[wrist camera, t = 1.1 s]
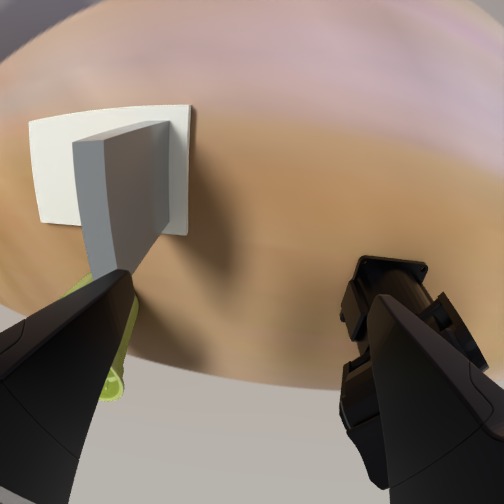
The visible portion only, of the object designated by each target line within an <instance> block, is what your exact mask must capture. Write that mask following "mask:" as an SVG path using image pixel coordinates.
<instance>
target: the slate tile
mask: <svg viewBox="0 0 504 504" xmlns="http://www.w3.org/2000/svg"><path fill="white" fill-rule="evenodd" d="M169 126H170V120H160V121H144V122H139V123H135V124H131V125H127V126H124V127H120V128H116V129H113V130H109V131H106V132H102V133H99V134H96V135H92V136H89V137H86V138H83V139H80V140H77V141H74V142H72V150H73V164H74V175H75V185H76V193H77V201H78V208H79V214H80V220H81V226H82V232H83V237H84V242H85V247H86V252H87V257H88V261H89V265H90V270H91V274H92V278H93V281H94V280H96V279H98V278H100V277H102V276H104V275H106V274H108V273H110V272H112V271H114V270H115V269H124V270H129V271H130V273H131V276H132V275H133V273H134V272H135V270H136V269H137V267H138V266H139V264H140V263H141V261H142V260H143V258H144V257H145V255H146V254H147V253H148V251H149V250H150V248H151V247H152V245H153V244H154V243H155V241H156V240H157V238H158V237H159V235H160V234H161V233H162V231H163V230H164V228H165V227H166V226H167V224H168V223H169V222H170V216H169Z"/></svg>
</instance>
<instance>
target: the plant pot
mask: <svg viewBox="0 0 504 504" xmlns="http://www.w3.org/2000/svg"><path fill="white" fill-rule="evenodd" d="M92 281H93V278H92V274H91V272H90V273H89V274H88V275H86V276H85V277H84V278H83V279H81V280H80V281H79V282H78V283H77V284H76V285H75V286H73V287H72V288H71V289H70V290H69V291H68V292H66V293H65V294H64V295H63V296H62V297H61V298H63V297H64V296H66V295H68V294H70V293H72V292H74V291H76V290H77V289H79V288H81V287H83V286H85V285H87V284H89V283H90V282H92ZM61 298H60V299H61ZM58 300H59V299H58ZM138 309H139V303H138V300H137V297H136V295H135V298H134V302H133V305H132V308H131V312H130V315H129V318H128V321H127V325H126V328H125V331H124V335H123V338H122V341H121V344H120V346H119V349H118V351H117V354H116V356H115V358H114V361H113V363H112V366H111V368H110V371H109V374H108V376H107V379H106V381H105V384H104V387H103V389H102V392H101V395H100V398H99V400H100V401H114V400H117V399H119V398H121V396H122V395H123V392H124V382H123V379H122V377H123V372H124V370H123V369H124V368H123V363H124V359H125V355H126V351H127V348H128V344H129V341H130V337H131V334H132V331H133V327H134V324H135V321H136V318H137V315H138Z"/></svg>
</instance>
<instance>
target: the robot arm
mask: <svg viewBox="0 0 504 504" xmlns="http://www.w3.org/2000/svg"><path fill="white" fill-rule="evenodd" d="M364 261H367V262H366V263H365V264H362V263H363V262H364ZM423 267H424V268H423ZM421 268H423V269H422V270H421ZM427 271H428V266H427V265H426V263H424V262H418V261H410V260H402V259H393V258H385V257H376V256H367V255H364V256H361V257H360V258H359V260H358V263H357V266H356V269H355V272H354V275H353V278H352V279H351V280H350V281H349V283H348V286H347V289H346V292H345V295H344V298H343V300H342V303H341V308H342V310H341V313H340V320H341V321H342V322H346V325H347V329H348V333H349V337H350V339H351V341H353V342H357V346H358V349H359V353H360V357H358V358H356V359H355V360H353V361H352V362H351V361H349V362H348V363H346V364H345V365H344V366H343V377H342V386H341V395H340V403H339V409H340V411H339V415H340V417H341V419H342V422H343V424H344V427H345V429H346V430H347V431H346V433H347V435H348V437H349V438H350V439H351V440H352V442H353V443H354V444H355V445H356V447H357V449H358V451H359V453H360V455H361V457H362V459H363V461H364V464H365V467H366V469H367V473H368V476H369V479H370V480H371V482H373V483H374V484H375V485H376V486H377V487H378V488H380V489H381V490H385V489H388V488H390V489H389V494H390V504H504V390H503V389H502V388H501V387H499V386H498V385H497V384H496V383H495V382H493V381H492V380H491V379H490V378H489V377H487V376H486V375H485V374H484V373H483V372H484V371H486V370H487V369H488V368H489V366H488V364H487V362H486V360H485V359H484V357H483V355H482V353H481V351H480V349H479V347H478V346H477V344H476V342H475V340H474V339H473V337H472V335H471V334H470V332H469V330H468V329H467V327H466V325H465V324H464V322H463V321H462V319H461V317H460V316H459V314H458V313H457V311H456V310H455V308H454V307H453V305H452V304H451V302H450V301H449V299H448V298H447V296H446V295H445V293H444V292H442V293H441V294H440V295H439V296H438V298H437V299H436V300H435V301H433V300H432V298H431V296H430V295H429V293H428V292H427V290H426V289H425V287H424V286H423V284H422V282H423V280H424V278H425V275H426V273H427ZM134 298H135V292H134V286H133V281H132V276H131V273H130V271H129V270H124V269H115V270H114V271H112V272H110V273H108V274H106V275H104V276H102V277H100V278H98V279H96V280H94V281H92V282H90V283H89V284H87V285H85V286H83V287H81V288H79V289H77V290H76V291H74V292H72V293H70V294H68V295H66V296H64V297H63V298H61V299H59V300H57V301H55V302H54V303H52V304H50V305H48V306H46V307H45V308H43V309H41V310H39V311H38V312H36V313H34V314H32V315H31V316H29V317H27V318H26V319H24V320H22V321H20V322H18V323H17V324H15V325H13V326H12V327H10V328H8V329H6V330H5V331H3V332H1V333H0V504H68V502H69V497H70V493H71V489H72V485H73V481H74V477H75V474H76V470H77V466H78V463H79V458H80V455H81V452H82V449H83V445H84V442H85V439H86V436H87V433H88V429H89V426H90V423H91V420H92V417H93V414H94V412H95V409H96V406H97V403H98V400H99V398H100V395H101V392H102V389H103V387H104V384H105V381H106V379H107V376H108V374H109V371H110V368H111V366H112V363H113V361H114V358H115V356H116V354H117V351H118V349H119V346H120V344H121V341H122V338H123V335H124V331H125V328H126V325H127V321H128V318H129V315H130V312H131V308H132V305H133V302H134Z"/></svg>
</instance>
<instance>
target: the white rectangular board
mask: <svg viewBox="0 0 504 504" xmlns="http://www.w3.org/2000/svg"><path fill="white" fill-rule="evenodd" d="M160 120H170V126H169V216H170V222H169V223H168V224H167V226H166V227H165V228H164V230H163V231H162V233H164V234H174V235H185V236H186V235H187V233H188V175H189V142H190V120H191V105H152V106H133V107H120V108H109V109H100V110H91V111H84V112H77V113H70V114H64V115H58V116H53V117H48V118H43V119H38V120H33V121H29V138H30V152H31V162H32V171H33V179H34V186H35V192H36V198H37V204H38V209H39V215H40V220H41V222H43V223H55V224H67V225H78V226H81V220H80V214H79V208H78V201H77V193H76V185H75V175H74V164H73V150H72V142H74V141H77V140H80V139H83V138H86V137H89V136H92V135H96V134H99V133H102V132H106V131H109V130H113V129H116V128H120V127H124V126H127V125H131V124H135V123H139V122H144V121H160Z"/></svg>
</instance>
